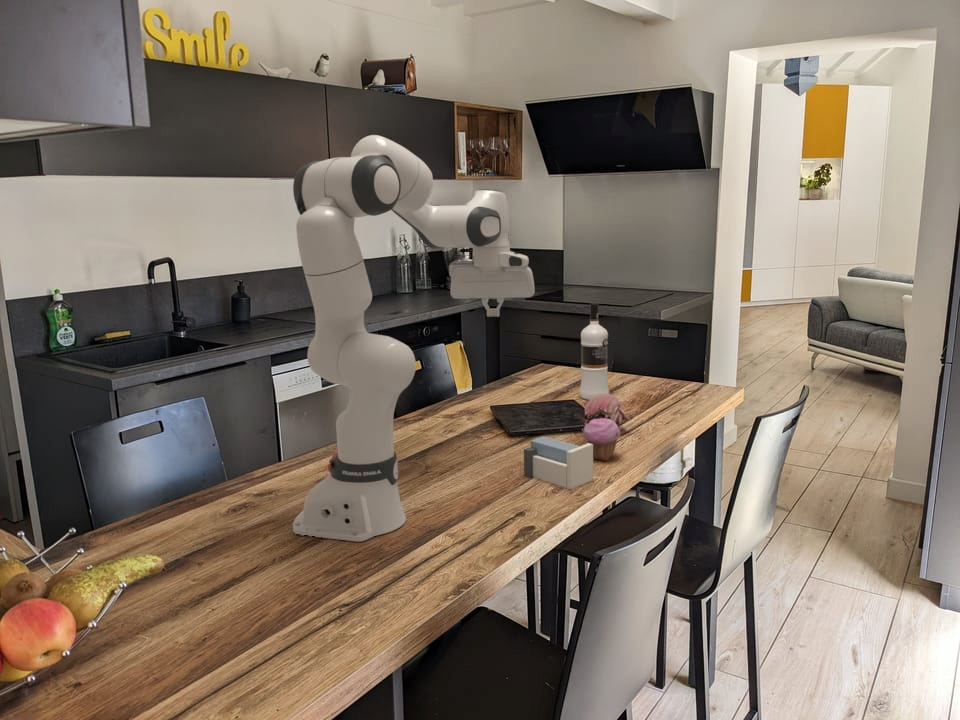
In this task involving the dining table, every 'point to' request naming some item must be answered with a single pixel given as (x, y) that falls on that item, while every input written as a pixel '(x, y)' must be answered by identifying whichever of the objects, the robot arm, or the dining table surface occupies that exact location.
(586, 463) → the frame
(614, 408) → the toy
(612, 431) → the cupcake
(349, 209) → the robot arm
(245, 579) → the dining table surface
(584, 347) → the vodka
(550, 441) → the grey rectangular box
